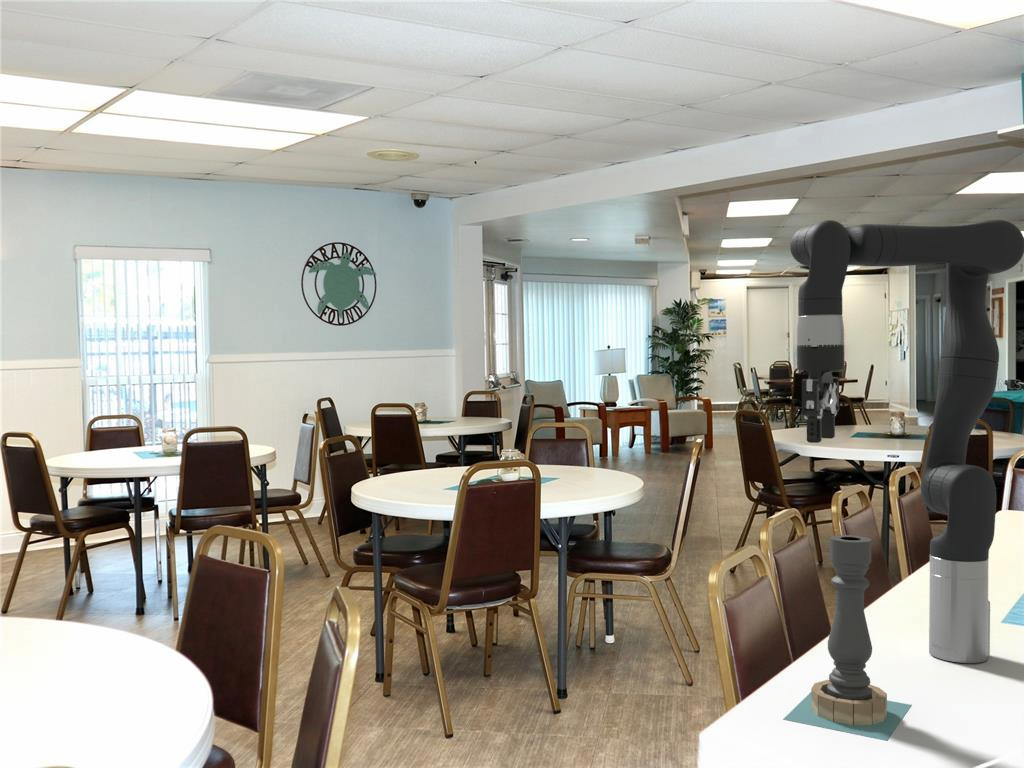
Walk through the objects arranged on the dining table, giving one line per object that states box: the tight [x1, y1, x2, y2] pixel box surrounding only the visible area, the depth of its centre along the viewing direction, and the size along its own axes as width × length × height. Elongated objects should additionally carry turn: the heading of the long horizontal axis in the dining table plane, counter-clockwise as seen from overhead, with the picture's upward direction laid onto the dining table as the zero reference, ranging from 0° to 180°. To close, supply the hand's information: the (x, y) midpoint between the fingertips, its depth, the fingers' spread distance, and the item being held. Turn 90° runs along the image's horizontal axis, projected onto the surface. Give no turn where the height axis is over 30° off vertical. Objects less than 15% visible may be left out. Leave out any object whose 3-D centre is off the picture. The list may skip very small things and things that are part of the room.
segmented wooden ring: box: [810, 679, 888, 725], centre depth 139 cm, size 10×10×3 cm
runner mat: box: [782, 691, 913, 742], centre depth 139 cm, size 16×14×1 cm
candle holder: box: [827, 534, 873, 701], centre depth 138 cm, size 6×6×25 cm
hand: (821, 440), depth 161 cm, fingers open, 8 cm apart
